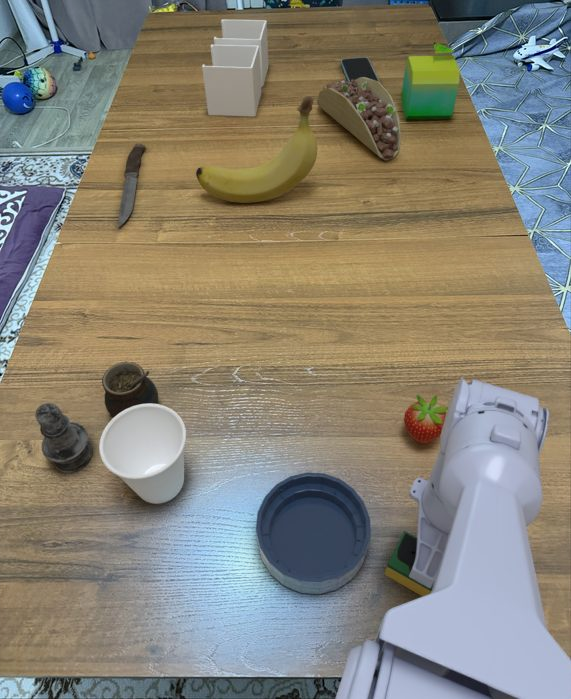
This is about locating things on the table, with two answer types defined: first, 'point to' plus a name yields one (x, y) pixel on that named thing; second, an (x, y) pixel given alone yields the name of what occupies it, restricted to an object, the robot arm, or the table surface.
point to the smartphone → (358, 68)
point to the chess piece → (63, 439)
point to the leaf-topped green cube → (430, 85)
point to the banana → (267, 168)
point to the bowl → (313, 532)
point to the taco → (364, 113)
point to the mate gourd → (127, 387)
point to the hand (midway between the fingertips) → (435, 543)
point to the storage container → (237, 68)
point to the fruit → (425, 419)
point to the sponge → (404, 573)
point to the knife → (130, 182)
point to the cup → (146, 450)
